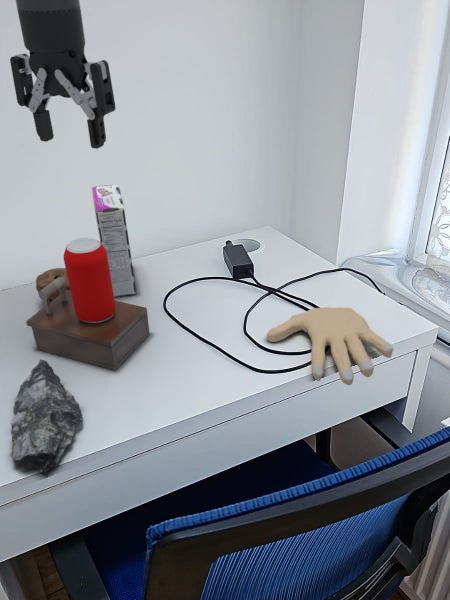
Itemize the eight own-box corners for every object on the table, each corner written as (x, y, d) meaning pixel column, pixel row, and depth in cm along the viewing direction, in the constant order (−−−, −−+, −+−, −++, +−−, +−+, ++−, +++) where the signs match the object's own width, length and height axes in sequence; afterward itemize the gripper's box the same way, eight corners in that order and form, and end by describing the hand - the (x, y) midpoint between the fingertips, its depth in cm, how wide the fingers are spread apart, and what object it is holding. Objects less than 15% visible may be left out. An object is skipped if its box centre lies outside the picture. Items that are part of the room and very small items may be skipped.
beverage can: (124, 317, 90) (113, 244, 82) (89, 331, 87) (74, 258, 79) (103, 301, 94) (91, 231, 86) (69, 315, 91) (53, 243, 83)
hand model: (381, 302, 97) (400, 359, 80) (379, 327, 99) (396, 388, 82) (268, 303, 99) (263, 359, 82) (269, 328, 101) (263, 387, 85)
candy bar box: (104, 270, 113) (90, 186, 102) (130, 267, 114) (119, 183, 103) (109, 298, 104) (94, 210, 94) (137, 295, 105) (125, 206, 95)
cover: (27, 325, 90) (19, 297, 87) (67, 293, 97) (61, 266, 94) (111, 347, 85) (106, 318, 82) (147, 311, 92) (143, 283, 89)
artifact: (40, 294, 106) (34, 269, 103) (82, 288, 107) (77, 264, 104) (40, 316, 100) (34, 290, 97) (84, 309, 102) (79, 284, 98)
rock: (6, 352, 84) (14, 375, 87) (3, 459, 68) (13, 483, 71) (70, 340, 86) (76, 364, 89) (82, 442, 70) (89, 467, 73)
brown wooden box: (37, 349, 93) (31, 326, 90) (76, 316, 100) (71, 294, 97) (115, 370, 88) (111, 347, 85) (149, 334, 95) (147, 312, 93)
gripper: (114, 2, 71) (130, 142, 81) (21, -2, 75) (47, 130, 86) (79, 10, 66) (100, 158, 76) (-19, 4, 70) (13, 145, 81)
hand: (72, 143), depth 81 cm, fingers open, 8 cm apart
